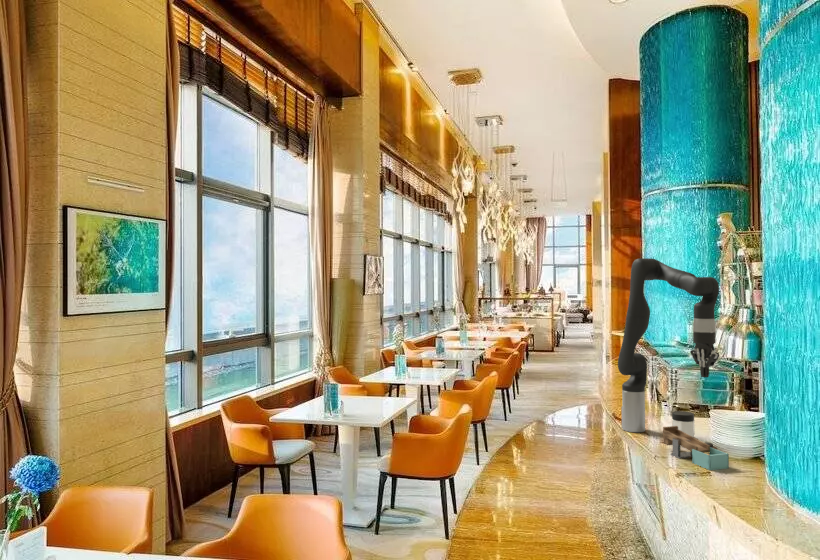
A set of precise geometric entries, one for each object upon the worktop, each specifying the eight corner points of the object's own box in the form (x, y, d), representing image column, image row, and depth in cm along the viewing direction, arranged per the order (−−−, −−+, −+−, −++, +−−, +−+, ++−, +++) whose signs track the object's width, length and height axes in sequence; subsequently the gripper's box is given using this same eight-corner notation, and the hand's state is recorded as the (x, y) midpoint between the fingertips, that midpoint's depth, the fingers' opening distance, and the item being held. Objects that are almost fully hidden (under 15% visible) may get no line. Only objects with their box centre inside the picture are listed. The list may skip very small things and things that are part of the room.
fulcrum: (670, 455, 230) (670, 437, 230) (691, 452, 232) (691, 435, 232) (679, 458, 225) (679, 441, 225) (700, 456, 227) (700, 439, 227)
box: (692, 463, 219) (692, 449, 219) (710, 461, 221) (710, 447, 221) (709, 470, 211) (709, 455, 211) (728, 468, 213) (728, 453, 213)
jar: (690, 440, 250) (689, 410, 250) (699, 445, 242) (698, 415, 241) (667, 440, 250) (667, 411, 250) (676, 446, 242) (676, 415, 242)
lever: (662, 443, 237) (663, 427, 236) (684, 441, 239) (685, 425, 238) (694, 461, 219) (696, 444, 219) (718, 459, 222) (719, 442, 221)
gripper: (683, 329, 235) (684, 374, 235) (708, 332, 222) (709, 380, 222) (700, 328, 237) (700, 373, 237) (725, 331, 224) (726, 379, 224)
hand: (704, 377), depth 229 cm, fingers closed
